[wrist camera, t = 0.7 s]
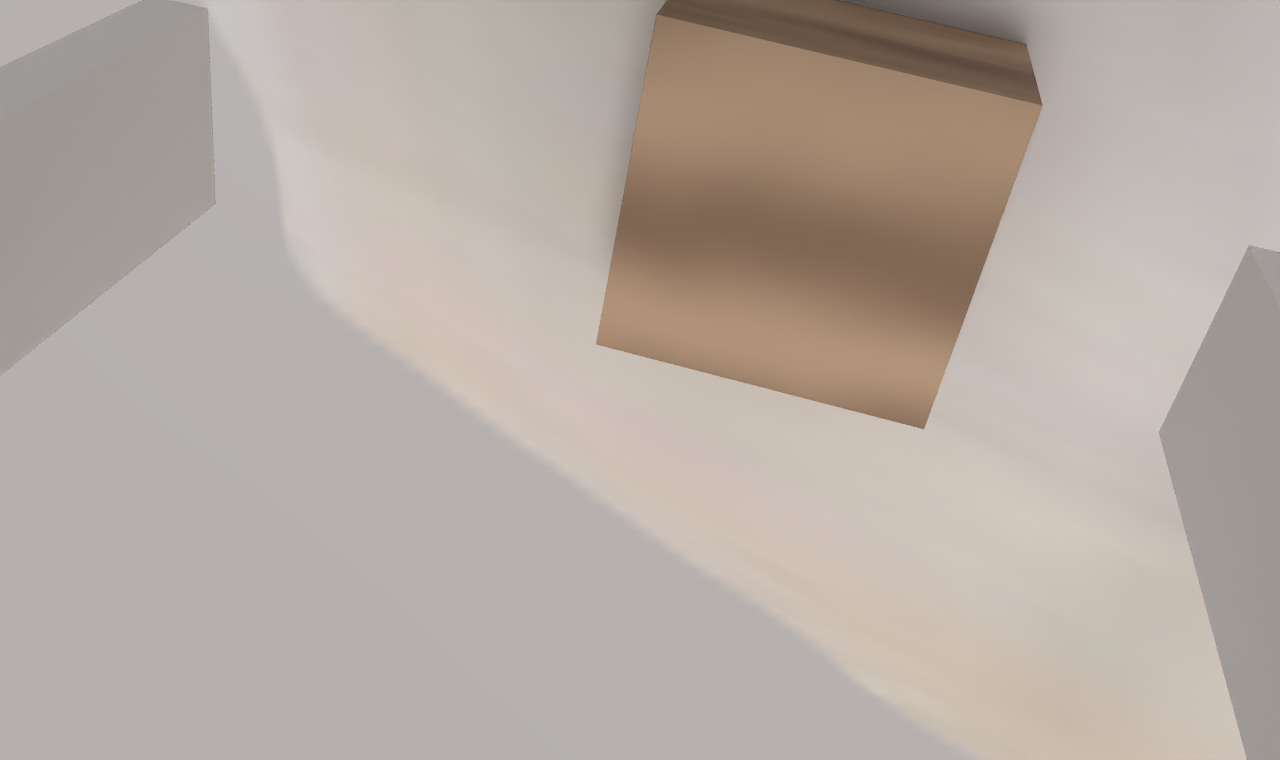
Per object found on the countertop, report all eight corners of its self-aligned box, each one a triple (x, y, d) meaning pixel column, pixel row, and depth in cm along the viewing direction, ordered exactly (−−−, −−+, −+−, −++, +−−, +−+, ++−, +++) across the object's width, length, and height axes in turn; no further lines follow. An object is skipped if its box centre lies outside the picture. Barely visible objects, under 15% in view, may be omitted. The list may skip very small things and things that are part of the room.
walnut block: (694, -35, 36) (656, 14, 31) (1025, 42, 36) (1042, 105, 31) (636, 261, 42) (595, 344, 37) (924, 334, 41) (923, 429, 36)
